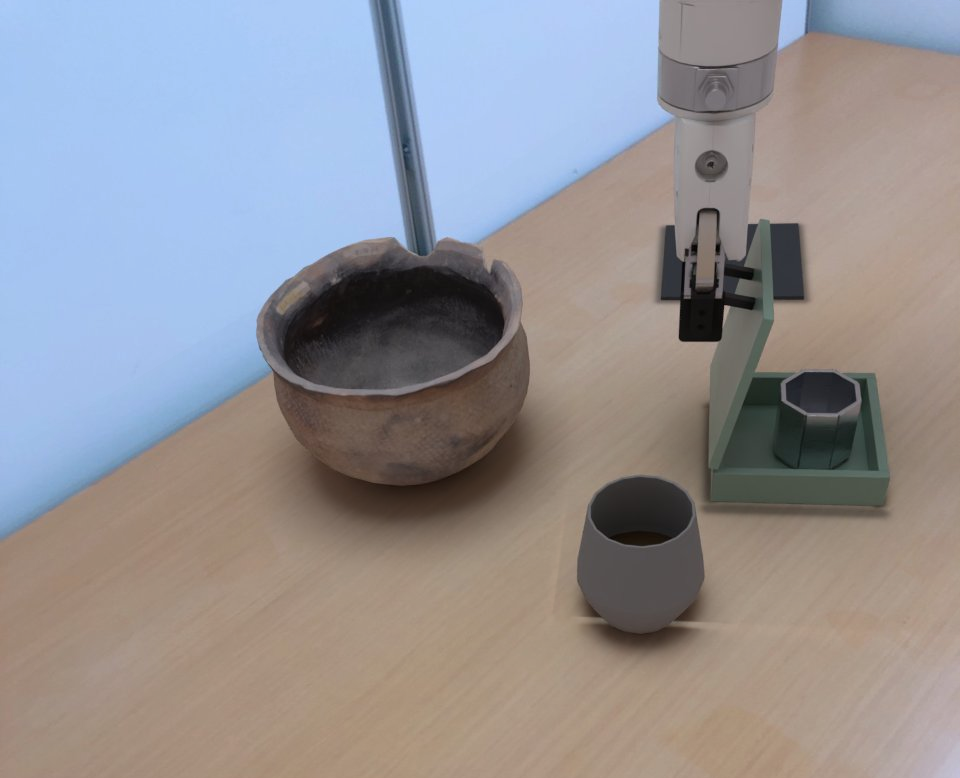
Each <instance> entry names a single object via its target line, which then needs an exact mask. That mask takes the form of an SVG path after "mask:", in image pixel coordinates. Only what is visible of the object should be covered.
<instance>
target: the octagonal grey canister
mask: <svg viewBox="0 0 960 778" xmlns="http://www.w3.org/2000/svg"><path fill="white" fill-rule="evenodd" d="M843 373H844V372H842V371H838V370H837V369H834V368H804V369H800V370H798V371H797V373H795V374H793V375H792V376H790V377H788V378H787V379H785V380H783V381H782V382H781V384H780V391H779V399H778V406H777V414H776V421H775V429H774V453H775V455H777V456H778V457H779V458H780V459H781V461H783V462H784V463H785V464H786V465H788V466H790V467H792V468H794V469H814V470H830V469H832V468H835V467H836V466H838V465H839V464H841V463H842V461H843V460H845V459H846V458H848V457H849V456H850V455H851V451H852V446H853V441H854V437H855V432H856V427H857V422H858V417H859V412H860V407H861V402H862V401H861V393H860V385H859V383H858V382H857V381H855V380H853V379H852V378H850V377H848V376H846V375H844V374H843Z"/></svg>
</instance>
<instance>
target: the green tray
mask: <svg viewBox="0 0 960 778" xmlns="http://www.w3.org/2000/svg"><path fill="white" fill-rule="evenodd" d="M797 372H798V371H797ZM797 372H795V371H794V372H793V371H791V372H789V371H788V372H787V371H786V372H785V371H784V372H782V371H781V372H779V371H776V372H775V371H755V373H754V376H753V378H752V381H751V383H750V386H749V389H748V391H747V394H746V397H745V399H744V402H743V405H742V407H741V410H740V413H739V415H738V418H737V421H736V423H735V426H734V428H733V431H732V434H731V436H730V439H729V442H728V444H727V447H726V450H725V452H724V455H723V458H722V460H721V463H720V466H719V468H718V470H716V469H711V468H710V498H709V499H710V502H712V503H739V504H740V503H741V504H773V505H775V504H777V505H779V504H780V505H813V506H814V505H815V506H817V505H818V506H856V507H857V506H858V507H884V505H885V501H886V496H887V492H888V488H889V483H890V480H891V479H890V478H891V473H890V467H889V460H888V454H887V446H886V438H885V432H884V424H883V416H882V411H881V403H880V396H879V387H878V381H877V375H876V372H842V373H843V374H844V375H846V376H848V377H850V378H852V379H853V380H855V381H857V382H858V383H859V385H860V393H861V401H862V402H861V407H860V412H859V417H858V422H857V427H856V432H855V437H854V441H853V446H852V451H851V455H850V456H849V457H848V458H846V459H845V460H843V461H842V463H841V464H839V465H838V466H836V467H835V468H832V469H830V470H814V469H794V468H792V467H790V466H788V465H786V464H785V463H784V462H783V461H781V459H780V458H779V457H778V456H777V455H775V453H774V429H775V421H776V414H777V406H778V399H779V391H780V384H781V382H782V381H783V380H785V379H787V378H788V377H790V376H792V375H793V374H795V373H797Z"/></svg>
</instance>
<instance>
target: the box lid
mask: <svg viewBox="0 0 960 778" xmlns="http://www.w3.org/2000/svg"><path fill="white" fill-rule="evenodd" d="M757 224H758V226H757V229H756V232H755V235H754V238H753V241H752V244H751V247H750V250H749V253H748V256H747V259H746V262H745V264H744V266H739V265H733V264H728V263H724V276H729V277H735V278H740V279H739V282H738V285H737V288H736V291H735V294H733V293H727V292H725V305H724V306H727V307H729V309H728V312H727V315H726V318H725V321H724V323H723V330H722V339H721V340H720V341H718V342H717V345H716V347H715V350H714V352H713V356H712V359H711V363H710V366H709V405H708V406H709V413H708V414H709V415H708V461H707V462H708V465H707V466H708V469H710V470H711V469H716V470H718V468H719V466H720V463H721V460H722V458H723V455H724V452H725V450H726V447H727V444H728V442H729V439H730V436H731V434H732V431H733V428H734V426H735V423H736V421H737V418H738V415H739V413H740V410H741V407H742V405H743V402H744V399H745V397H746V394H747V391H748V389H749V386H750V383H751V381H752V378H753V376H754V373H755V372H756V370H757V367H758V365H759V362H760V359H761V357H762V354H763V351H764V349H765V346H766V343H767V341H768V338H769V335H770V333H771V331H772V327H773V326H774V322H775V307H774V304H775V303H774V300H773V280H772V258H771V237H770V224H771V221H770V219H765V218H760V219H758V223H757ZM716 267H717V263H715V268H714V274H716ZM696 269H697V263H694V264H693V275H696Z"/></svg>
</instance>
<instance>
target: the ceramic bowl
mask: <svg viewBox="0 0 960 778" xmlns="http://www.w3.org/2000/svg"><path fill="white" fill-rule="evenodd" d="M522 312H523V292H522V285H521V284H520V281H519V279H518V278H517V276H516V274H515V272H514V270H513V269H512V268H511V267H510V265H509V263H507V262H505V261H504V260H500V259H493V260H492V263H491V265H490V268H489V267H488V265H487V262H486V257H485V252H484V248H483V247H482V246H480V245H479V244H476V243H472V242H465V241H460V240H459V239H456V238H452V237H449V236H446V237H444V238H442V239H440V240H437V241H436V244H435V247H434V249H433V251H431V252H430V253H429V254H427V255H419V254H417V253H414V252H413V251H411V250H409V249H408V248H407V247H405V245H403V244H402V243H401V242H400V241H399V240H398V239H397V238H396V237H393V236H386V237H379V238H369V239H363V240H360V241H357V242H353V243H351V244H347V245H346V246H342V247H340V248H339V249H336V250H334V251H332V252H330V253H328V254H326V255H324V256H322V257H321V258H319V259H317V260H316V261H314V262H313V263H311V264H308V265H306V266H304V267H302V269H300V270H299V271H298V272H297V273H296V274H295V275H294V276H291V277H289V278H287V279H285V280H284V281H283V282H282V283H281V284H280V286H278V287H277V289H275V290H274V291H273V292H272V293H271V294H270V295H269V297H268V298H267V300H266V301H265V302H264V303H263V305H262V307H261V309H260V311H259V313H258V315H257V318H256V330H255V337H256V341H257V344H258V348H259V351H260V352H261V355H262V358H263V359H264V361H265V362H266V364H267V365H268V367H269V368H270V370H271V371H272V375H273V386H274V391H275V396H276V401H277V404H278V408H279V410H280V412H281V414H282V416H283V419H284V420H285V421H286V424H287V426H288V427H289V430H290V431H291V433H292V435H293V436H294V437H295V439H296V440H297V441H298V442H299V443H300V444H301V446H303V447H304V448H305V449H306V450H307V451H308V452H309V453H310V454H311V455H312V456H313V457H315V458H316V459H318V460H319V461H320V462H321V463H323V464H324V465H326V466H327V467H329V468H330V469H332V470H334V471H336V472H338V473H341V474H343V475H345V476H347V477H350V478H353V479H358V480H362V481H366V482H369V483H372V484H380V485H386V486H387V485H388V486H415V485H423V484H424V485H425V484H428V483H429V484H430V483H434V482H436V481H439V480H442V479H444V478H447V477H449V476H452V475H454V474H457V473H459V472H461V471H463V470H464V469H467V468H468V467H470V466H471V465H473V464H475V463H477V462H478V461H479V460H481V459H483V458H484V457H485V456H486V455H488V453H489V452H491V451H492V450H493V449H494V447H495V446H496V445H497V444H498V443H499V441H500V440H501V439H502V438H503V437H504V435H505V434H506V433H507V432H508V431H509V429H510V428H511V427H512V425H513V424H514V422H515V421H516V419H517V418H518V415H519V414H520V412H521V410H522V408H523V406H524V403H525V400H526V398H527V395H528V391H529V385H530V375H531V361H530V353H529V345H528V336H527V332H526V330H525V329H524V325H523V324H522V315H523V313H522Z"/></svg>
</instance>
